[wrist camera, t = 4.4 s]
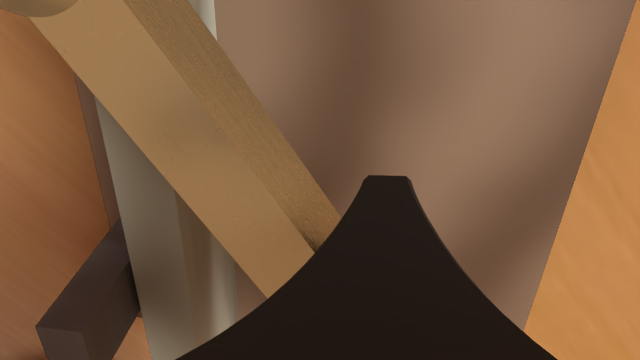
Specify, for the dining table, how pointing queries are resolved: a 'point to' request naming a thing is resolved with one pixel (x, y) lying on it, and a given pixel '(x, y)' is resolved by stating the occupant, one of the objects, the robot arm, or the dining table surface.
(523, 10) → the wooden base plate
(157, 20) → the latch bar
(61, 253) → the dining table surface
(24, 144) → the dining table surface
